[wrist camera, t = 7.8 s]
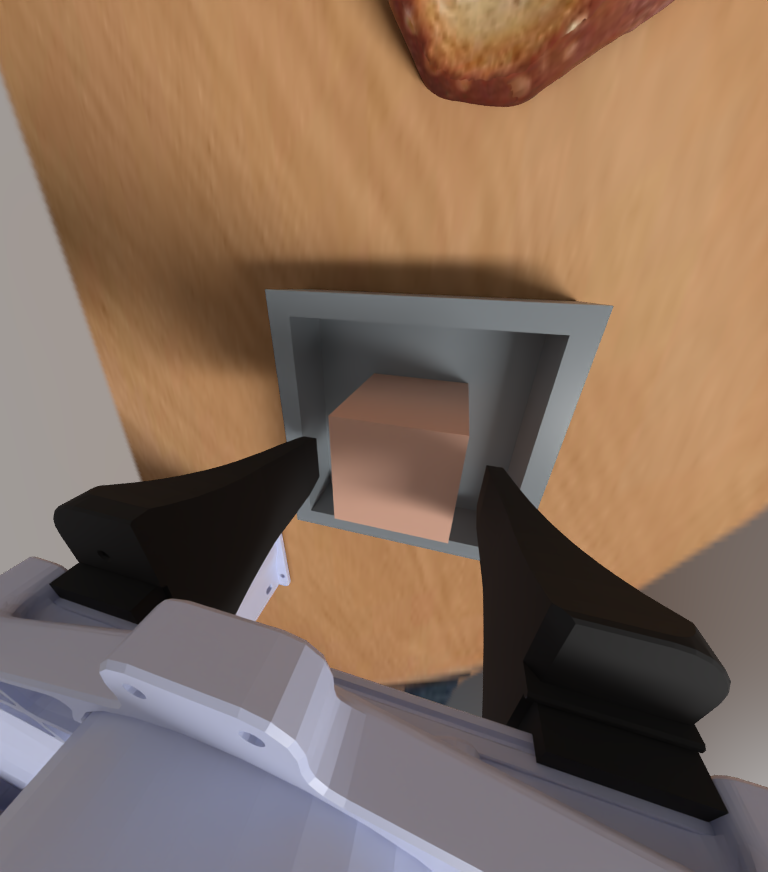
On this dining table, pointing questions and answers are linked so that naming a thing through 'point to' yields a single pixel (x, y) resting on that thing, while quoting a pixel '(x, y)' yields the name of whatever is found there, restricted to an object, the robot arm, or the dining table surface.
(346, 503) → the block
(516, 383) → the bin
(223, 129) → the dining table surface
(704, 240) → the dining table surface
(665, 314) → the dining table surface
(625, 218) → the dining table surface
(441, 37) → the bread slice
